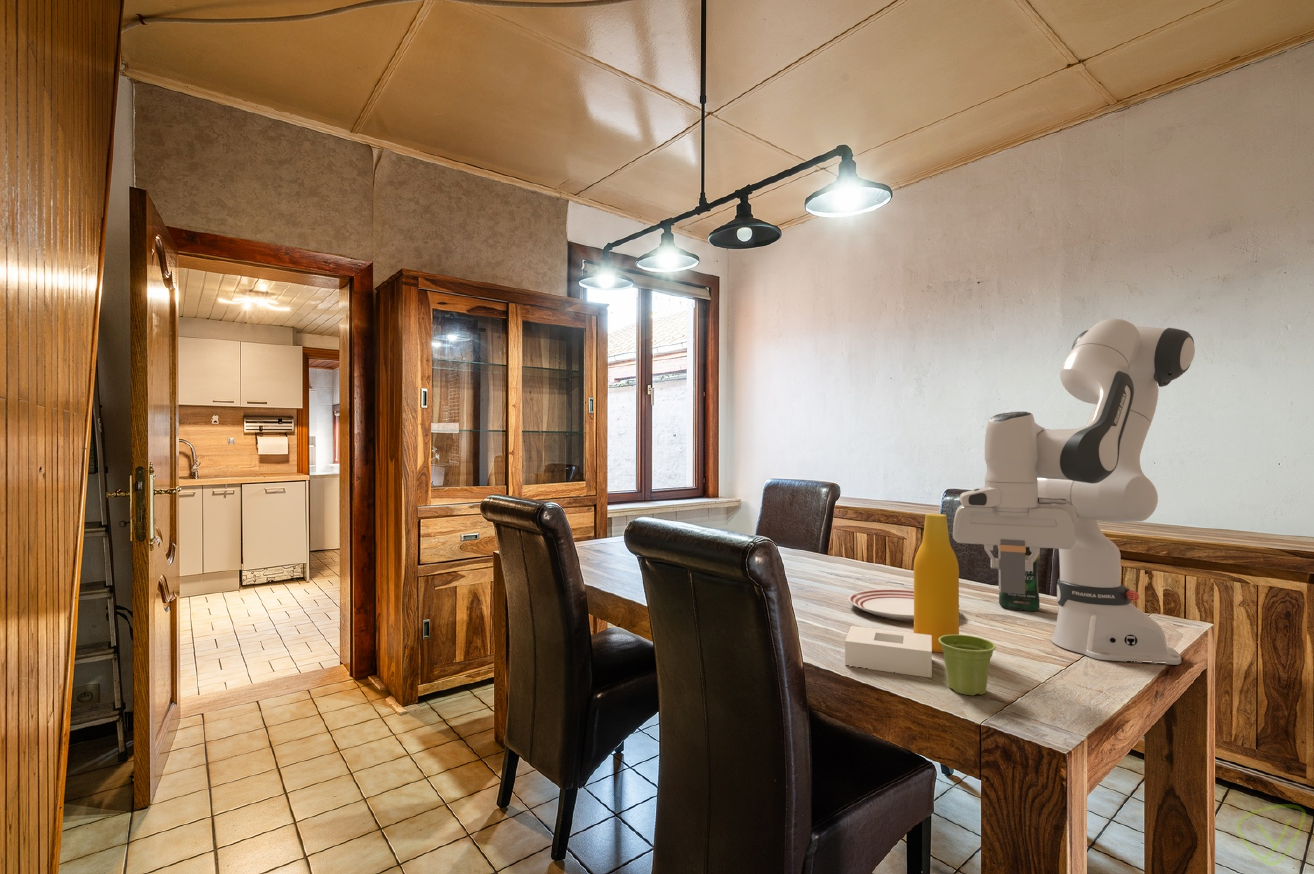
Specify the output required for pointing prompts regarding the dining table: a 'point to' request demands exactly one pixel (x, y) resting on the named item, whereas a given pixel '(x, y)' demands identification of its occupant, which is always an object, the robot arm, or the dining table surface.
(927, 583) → the beer bottle
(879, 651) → the socket block
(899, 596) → the dinner plate
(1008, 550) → the plug
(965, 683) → the plant pot
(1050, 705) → the dining table surface
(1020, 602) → the coffee jar
